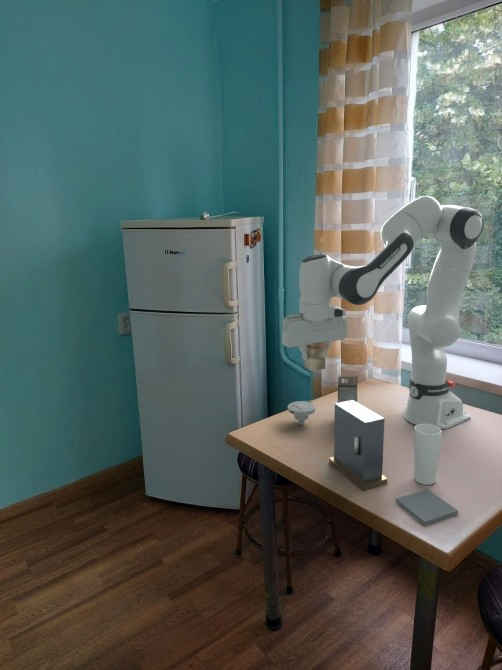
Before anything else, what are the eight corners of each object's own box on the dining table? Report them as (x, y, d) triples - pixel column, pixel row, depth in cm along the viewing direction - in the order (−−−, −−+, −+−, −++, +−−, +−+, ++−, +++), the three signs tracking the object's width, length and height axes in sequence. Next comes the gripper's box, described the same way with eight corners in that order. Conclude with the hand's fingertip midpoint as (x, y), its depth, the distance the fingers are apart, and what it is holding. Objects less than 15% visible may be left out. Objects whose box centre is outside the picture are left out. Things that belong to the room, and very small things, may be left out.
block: (317, 364, 140) (317, 339, 138) (325, 368, 135) (325, 342, 133) (304, 366, 138) (304, 341, 136) (311, 371, 134) (311, 344, 132)
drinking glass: (424, 490, 119) (427, 436, 115) (405, 477, 125) (408, 426, 121) (443, 483, 121) (448, 431, 118) (424, 471, 127) (428, 421, 124)
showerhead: (322, 403, 158) (302, 411, 152) (321, 422, 160) (302, 431, 153) (302, 396, 165) (282, 403, 159) (302, 414, 167) (282, 423, 160)
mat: (427, 492, 118) (427, 488, 117) (457, 514, 109) (458, 510, 108) (395, 502, 114) (395, 498, 114) (424, 525, 105) (425, 521, 105)
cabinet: (352, 456, 136) (353, 398, 132) (387, 483, 122) (390, 419, 118) (328, 462, 133) (329, 403, 129) (361, 491, 119) (363, 425, 115)
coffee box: (337, 418, 162) (338, 375, 159) (356, 419, 161) (357, 376, 157) (337, 430, 154) (337, 384, 150) (356, 431, 152) (357, 385, 149)
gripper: (287, 317, 126) (288, 365, 129) (350, 310, 133) (349, 355, 137) (277, 313, 132) (278, 359, 135) (338, 306, 139) (337, 350, 142)
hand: (314, 357), depth 136 cm, fingers closed on block, 4 cm apart
